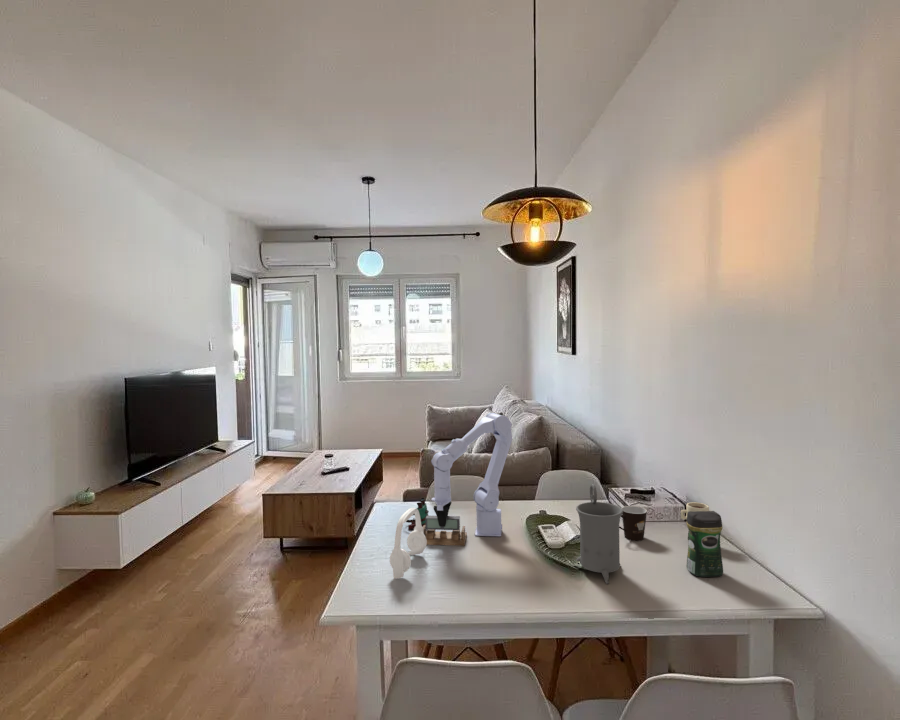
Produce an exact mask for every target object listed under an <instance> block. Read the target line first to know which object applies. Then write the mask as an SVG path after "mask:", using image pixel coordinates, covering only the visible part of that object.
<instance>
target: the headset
mask: <svg viewBox="0 0 900 720" xmlns="http://www.w3.org/2000/svg"><path fill="white" fill-rule="evenodd" d="M416 508H417V507H410V508H409V509H407V510H406V511H404V512H403V514H401V516H400V517H399V519H398V522H397V524H396V529H395V535H394V544H393V545H394V546H393V549H392V550H391V553H390V555H389V564H390V566H391V568H392V576H393V579H394V580H396V579H397V580H398V579H401V578H403V577H404V574H405V573H406V572H408V570H409V569H410V568H411V564H412V559H411V556H414V555H420V554H423V553H424V551H425V549H426V548H427V540H426V537H425V535H424V529H423V527H422V525H421V519H420V514H419V511H418V509H416ZM413 514H415V515H413ZM412 516H414V518H415V521H416V526H415V527H414V528H413V530H412V531H410V532H409V534H408V535H407V540H406V544H407V547H408V549H409V551H406V549H403V548H401V542H402V541H401V540H402V530H403V525H404V524H405V523H407V522H406V521H407V520H410V518H411V517H412Z"/></svg>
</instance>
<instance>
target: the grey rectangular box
mask: <svg viewBox="0 0 900 720" xmlns="http://www.w3.org/2000/svg"><path fill="white" fill-rule="evenodd" d="M428 529H431V530H435V531H436V530H437V531H453V530H459V529H460V530H461V516H460V515H458V516H457V515H448V516H447V519H446V525H445V526H439V523H438V519H437V515H429V514H428V515H427V516H426V530H428Z"/></svg>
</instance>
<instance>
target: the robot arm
mask: <svg viewBox="0 0 900 720" xmlns="http://www.w3.org/2000/svg"><path fill="white" fill-rule="evenodd" d="M512 425H513V424H512V422H511V420H510V419H509V417H508V416H506V415H504V414H503V415H502V414H499V413H496V412H489V413H487V414H486V415H485V416H483V417H482V418H481V419H480V420H479V422H477V424H475V426H473V427H472V429H470V430H469V431H468V432H467V433H466V434H465V435H464V436H463V437H462V438H455V439H454V438H453V439H452V440H451V441H450V444H448V445H446V447H445V448H442V449H441V451H438V452H436V453H435V454H433V455H432V456H433V457H432V459H431V461H430V463H431V465H432V466H433V470H434V472H433V481H434V482H433V483H434V488H433V489H434V497H432V498H431V502H434V504H435V505H434V506H433V511H434V513H435V514H436V515H435V516H437V519H438V523H439V526H445V525H446V519H447V516H449V512H450V508H451V506H452V494H451V469H452V467H453V465H454V464H453V463H454V462H455V461H457V460H458V459H459V458H460V457H461V456H463V455H464V454H465V453H466V452H468V451H467V450H468V446H469V445H471V444H472V443H473V442H475V441H477V440H478V439H479V438H480V437H481V436H483V435H484V434H488V433H490V434H492V435H494V438H495V439H496V441H495V444H494V447H493V450H492V453H491V457H490V460H489V463H488V467H487V469H486V472H485V475H484V478H483V480H482V481H481V482H480V483H479V484H478V487H477V489H475V491H474V493H473V501H474V503H476V506H475V507H476V509H475V510H476V511H475V512H476V518H475V519H476V527H475V533H474V536H475V537H477V536H478V537H502V530H503V523H502V508H498V506H499V504H500V503H499V501H500V498H499V496H500V488H499V483H500V479H501V475H502V473H503V470H504V467H505V464H506V460H507V459H508V454H509V452H510V448H511V445H512V442H513V435H512Z"/></svg>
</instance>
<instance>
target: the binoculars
mask: <svg viewBox="0 0 900 720" xmlns="http://www.w3.org/2000/svg"><path fill="white" fill-rule="evenodd" d="M416 505H417V507H415V508H416V509H418V511H419V514H420V519H421V525H422V527H423V525H426V516H427V515H429V510H428V506H427V503H426V498H425V497H420V498H419V502H416ZM412 516H415V514H413V515H412ZM405 523H411V524H408V525H407V526H408V527H407V528H408V530H412V529H413V530H414V527H415V526H416V521H415V517H413V519H408V520H407V521H406V522H405Z"/></svg>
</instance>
